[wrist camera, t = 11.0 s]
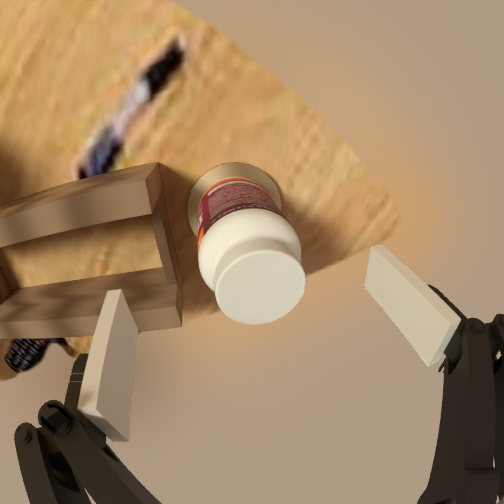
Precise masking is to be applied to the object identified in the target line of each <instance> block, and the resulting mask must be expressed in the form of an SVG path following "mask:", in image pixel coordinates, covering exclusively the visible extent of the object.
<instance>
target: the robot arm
mask: <svg viewBox="0 0 504 504" xmlns="http://www.w3.org/2000/svg"><path fill="white" fill-rule="evenodd" d="M364 288H365V289H366V290H367V291H368V292H369V294H370V295H371V296H372V297H373V298H374V299H375V301H376V302H377V303H378V304H379V305H380V307H381V308H382V309H383V310H384V312H385V313H386V314H387V315H388V316H389V318H390V319H391V320H392V321H393V322H394V324H395V325H396V326H397V328H399V330H400V331H401V333H402V334H403V335H404V336H405V338H406V339H407V340H408V341H409V343H410V344H411V345H412V347H413V348H414V349H415V351H416V352H417V353H418V355H419V356H420V357H421V358H422V360H423V361H424V363H425V364H426V365H427V366H430V365H432V364H434V363H436V362H438V361H439V359H440V358H441V356H442V354H443V353H444V354H445V355H446V358H445V360H444V361H443V363H442V365H441V366H440V368H439V372H440V371H441V370H442V368H443V367H444V371H443V373H444V384H443V385H444V386H443V400H442V410H441V420H440V426H439V434H438V440H437V446H436V451H435V456H434V461H433V466H432V470H431V474H430V479H429V482H428V485H427V488H426V490H425V491H424V492H423V494H422V495H421V496H420V498H419V500H418V502H417V504H496V500H497V494H498V497H499V500H500V502H498V503H497V504H504V314H497V315H496V316H495V318H494V319H493V321H492V322H491V323H485V324H484V323H483V322H482V321H481V320H479V319H476V318H469V319H467V318H466V317H465V316H464V315H463V314H462V313H461V312H460V311H459V309H457V307H455V305H454V304H452V303H451V302H449V300H448V299H447V298H446V297H444V295H443V294H442V293H441V292H440V291H439V290H438V289H437V288H435V287H433V286H431V285H427V284H425V283H424V282H423V281H422V280H421V279H420V278H419V277H418V276H417V275H416V274H415V273H414V272H413V271H411V270H410V269H409V268H408V267H407V266H406V265H405V264H404V263H403V262H401V261H400V260H399V259H398V258H397V257H396V256H394V255H393V254H392V253H391V252H390V251H389V250H388V249H386V248H385V247H384V246H383V245H377V246H372V247H371V250H370V256H369V263H368V268H367V273H366V279H365V284H364ZM137 334H138V328H137V326H136V324H135V321H134V319H133V317H132V314H131V312H130V310H129V307H128V305H127V302H126V300H125V297H124V295H123V292H122V290H121V289H118V290H111V291H107V294H106V297H105V300H104V303H103V306H102V310H101V313H100V316H99V319H98V323H97V326H96V330H95V333H94V337H93V340H92V344H91V348H90V352H89V354H80V355H79V356H78V358H77V359H76V361H75V362H74V365H73V369H72V375H71V376H70V383H69V385H68V389H67V393H66V398H65V403H64V405H63V404H62V403H61V402H59V401H57V400H50V401H48V402H46V403H45V404H44V405H43V406H42V407H41V408H40V410H39V413H38V421H39V424H40V425H41V426H42V427H40V428H35V427H34V426H33V425H32V424H30V423H27V422H26V423H22V424H21V425H19V426H18V427H17V429H16V431H15V434H14V440H15V446H16V451H17V456H18V461H19V466H20V470H21V474H22V477H23V482H24V485H25V488H26V492H27V495H28V498H29V501H30V504H91V502H90V500H89V498H88V495H87V493H86V491H85V489H86V490H87V492H88V493H89V494H90V496H91V497H92V498H93V500H94V501H95V502H96V504H161V503H160V502H159V501H158V500H157V499H156V498H155V497H154V496H153V495H152V494H151V493H150V492H149V491H148V490H147V489H146V488H145V487H144V486H143V485H142V484H141V483H140V482H139V481H138V480H137V479H136V477H135V476H133V474H132V473H131V472H130V471H129V470H128V469H127V468H126V466H125V465H124V464H123V463H122V462H121V461H120V459H119V458H118V457H117V456H116V455H115V453H114V452H113V451H112V450H111V448H110V447H109V446H108V445H107V444H106V436H107V437H108V438H109V439H111V440H112V441H123V442H129V431H130V407H131V392H132V391H131V390H132V379H133V368H134V358H135V349H136V341H137ZM499 351H500V352H501V356H500V358H499V359H497V357H496V355H497V354H498V352H499ZM493 458H494V461H495V468H494V467H493ZM84 488H85V489H84Z"/></svg>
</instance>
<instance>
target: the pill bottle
mask: <svg viewBox="0 0 504 504" xmlns="http://www.w3.org/2000/svg"><path fill="white" fill-rule="evenodd" d="M197 231H198V261H199V269H200V272H201V275H202V277H203V279H204V281H205V283H206V284H207V285H208V287H209V288H210V289H211V290H212V291H214V292H215V296H216V300H217V303H218V305H219V307H220V309H221V310H222V311H223V312H224V313H225V315H227V316H228V317H230V318H231V319H233V320H234V321H237V322H240V323H244V324H253V325H254V324H255V325H257V324H264V323H269V322H272V321H275V320H277V319H280V318H281V317H283V316H285V315H286V314H288V313H289V312H290V311H291V310H292V309H294V308H295V307H296V305H297V304H298V303H299V302H300V300H301V298H302V296H303V294H304V291H305V288H306V276H305V272H304V269H303V267H302V265H301V263H300V261H301V246H300V242H299V238H298V236H297V234H296V232H295V231H294V229H293V227H292V226H291V224H290V223H289V222H288V220H287V219H286V218H285V216H284V215H283V214H282V212H281V211H280V210H279V208H278V207H277V205H276V204H275V203H274V201H273V200H272V199H271V197H270V196H269V195H268V193H267V192H266V191H265V190H264V189H263V188H262V187H261V186H260V185H259V184H257V183H256V182H254V181H253V180H250V179H248V178H244V177H228V178H224V179H221V180H219V181H217V182H215V183H214V184H212V185H211V186H210V187H209V188H208V189H207V190H206V191H205V192H204V194H203V195H202V197H201V199H200V202H199V205H198V210H197Z"/></svg>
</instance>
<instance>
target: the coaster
mask: <svg viewBox="0 0 504 504" xmlns="http://www.w3.org/2000/svg"><path fill="white" fill-rule="evenodd" d="M228 177H244V178H248V179H250V180H253V181H254V182H256V183H257V184H259V185H260V186H261V187H262V188H263V189H264V190H265V191H266V192H267V193H268V195H269V196H270V197H271V199H272V200H273V201H274V203H275V204H276V205H277V207H278V208H279V210H280V211H281V198H280V194H279V191H278V189H277V187H276V185H275V183H274V182H273V181H272V179H271V178H270V177H269V176H268V175H267V174H266V173H265V172H263V171H262V170H260V169H259V168H257V167H255V166H252V165H249V164H245V163H237V162H235V163H226V164H222V165H219V166H216V167H214V168H212V169H210V170H209V171H207V172H206V173H205V174H203V175H202V176H201V177H200V178H199V179H198V181H197V182H196V183H195V185H194V186H193V188H192V190H191V192H190V195H189V199H188V206H187V214H188V220H189V224H190V226H191V229H192V230H193V232H194V234H195V235H196V236H197V238H198V231H197V210H198V205H199V202H200V199H201V197H202V195H203V194H204V192H205V191H206V190H207V189H208V188H209V187H210V186H211V185H212V184H214V183H215V182H217V181H219V180H221V179H224V178H228Z"/></svg>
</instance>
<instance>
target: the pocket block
mask: <svg viewBox="0 0 504 504" xmlns="http://www.w3.org/2000/svg"><path fill="white" fill-rule="evenodd" d="M147 214H150V216H151V220H152V225H153V229H154V233H155V238H156V242H157V246H158V250H159V254H160V258H161V261H162V265H163V267H161V268H155V269H148V270H141V271H134V272H128V273H121V274H114V275H108V276H101V277H94V278H87V279H81V280H74V281H67V282H60V283H54V284H47V285H40V286H33V287H26V288H20V289H13V290H11V289H10V287H9V285H8V283H7V281H6V279H5V276H4V274H3V272H2V270H1V268H0V338H5V339H25V338H62V337H82V336H94V333H95V330H96V326H97V323H98V319H99V316H100V313H101V310H102V306H103V303H104V300H105V297H106V294H107V291H111V290H118V289H121V290H122V292H123V295H124V297H125V300H126V302H127V305H128V307H129V310H130V312H131V314H132V317H133V319H134V321H135V324H136V326H137V328H138V332H143V331H152V330H161V329H169V328H177V327H182V297H183V282H182V278H181V274H180V270H179V266H178V262H177V257H176V253H175V248H174V244H173V239H172V235H171V230H170V225H169V220H168V215H167V210H166V205H165V199H164V194H163V188H162V182H161V176H160V170H159V164H158V162H155V163H150V164H145V165H140V166H135V167H130V168H126V169H121V170H117V171H112V172H108V173H104V174H100V175H96V176H92V177H88V178H85V179H81V180H77V181H74V182H70V183H67V184H63V185H60V186H57V187H53V188H50V189H47V190H44V191H41V192H38V193H35V194H32V195H29V196H26V197H23V198H21V199H18V200H15V201H12V202H10V203H7V204H5V205H2V206H0V248H1V247H4V246H8V245H11V244H15V243H19V242H23V241H26V240H30V239H34V238H38V237H42V236H46V235H51V234H55V233H59V232H63V231H68V230H72V229H77V228H81V227H86V226H90V225H95V224H100V223H105V222H110V221H115V220H120V219H125V218H130V217H136V216H141V215H147Z"/></svg>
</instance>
